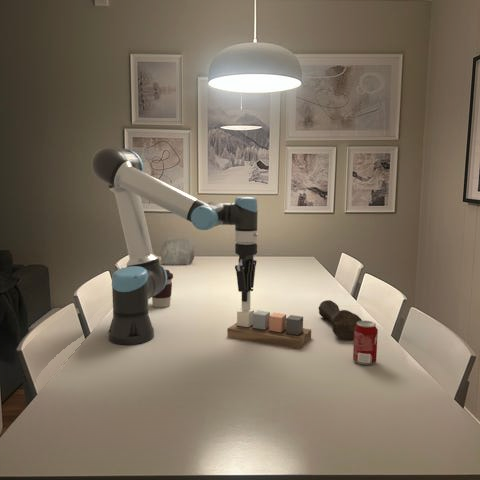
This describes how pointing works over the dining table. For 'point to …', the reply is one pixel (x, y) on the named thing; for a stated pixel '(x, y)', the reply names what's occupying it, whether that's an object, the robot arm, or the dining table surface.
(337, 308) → the dark brown bone
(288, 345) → the wooden block tray
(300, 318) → the dark gray block
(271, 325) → the key terracotta
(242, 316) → the key ivory
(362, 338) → the soda can
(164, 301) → the coffee cup
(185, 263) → the decorative stone
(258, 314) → the light grey block
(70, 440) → the dining table surface
